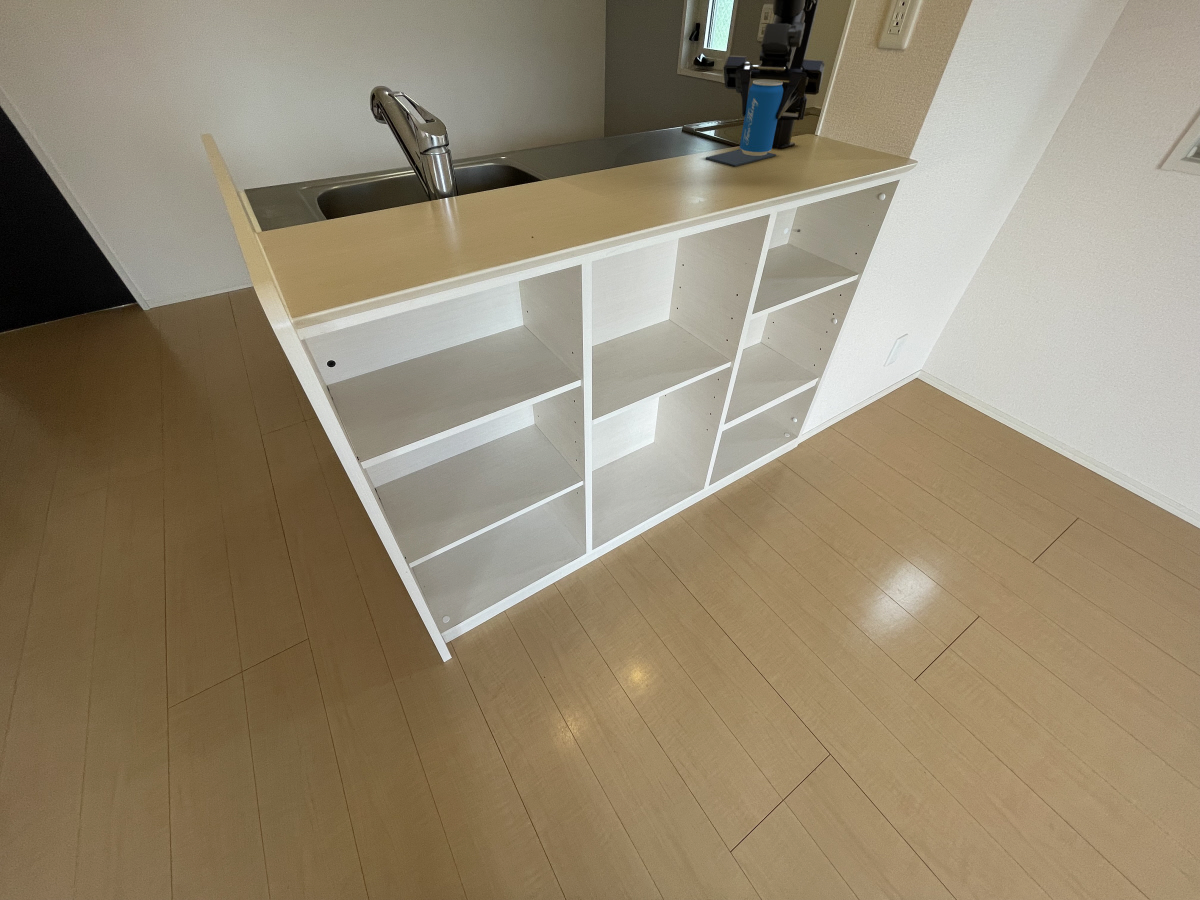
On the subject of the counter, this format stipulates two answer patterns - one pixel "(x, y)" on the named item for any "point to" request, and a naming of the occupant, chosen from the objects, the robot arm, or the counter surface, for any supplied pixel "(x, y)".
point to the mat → (737, 158)
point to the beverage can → (761, 117)
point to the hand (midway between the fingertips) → (760, 116)
